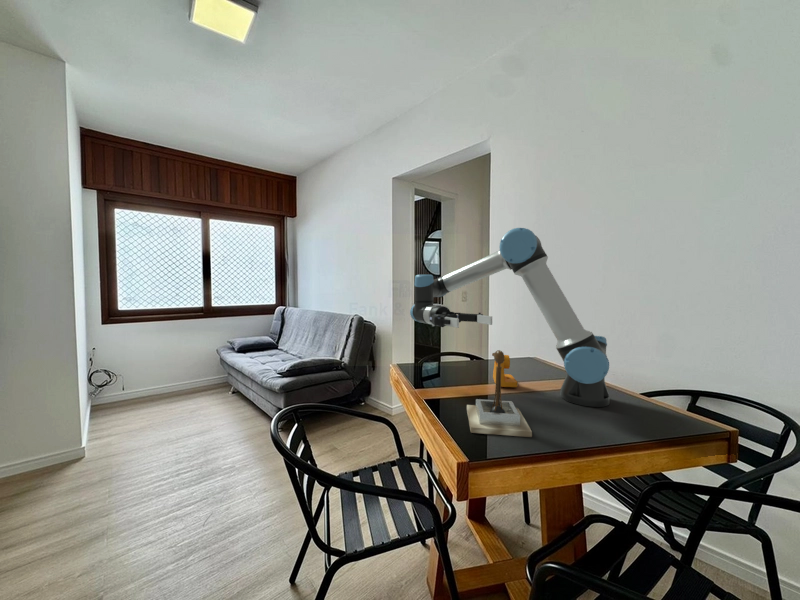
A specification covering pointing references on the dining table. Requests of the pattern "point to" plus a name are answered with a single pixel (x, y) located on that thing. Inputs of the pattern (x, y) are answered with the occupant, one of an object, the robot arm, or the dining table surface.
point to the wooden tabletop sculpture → (498, 383)
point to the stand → (497, 429)
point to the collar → (497, 418)
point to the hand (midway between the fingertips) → (475, 321)
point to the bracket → (506, 379)
